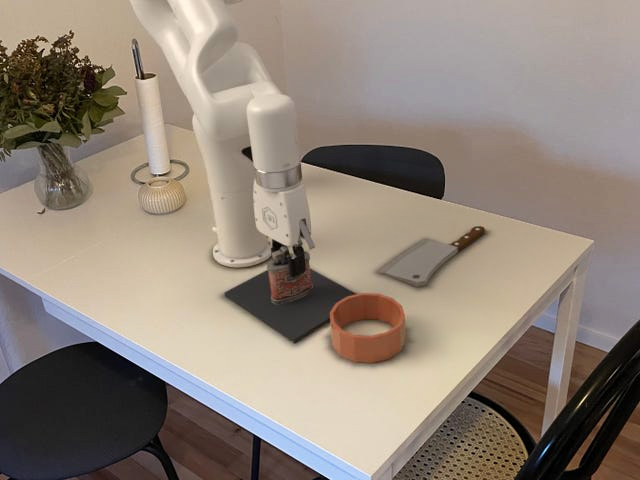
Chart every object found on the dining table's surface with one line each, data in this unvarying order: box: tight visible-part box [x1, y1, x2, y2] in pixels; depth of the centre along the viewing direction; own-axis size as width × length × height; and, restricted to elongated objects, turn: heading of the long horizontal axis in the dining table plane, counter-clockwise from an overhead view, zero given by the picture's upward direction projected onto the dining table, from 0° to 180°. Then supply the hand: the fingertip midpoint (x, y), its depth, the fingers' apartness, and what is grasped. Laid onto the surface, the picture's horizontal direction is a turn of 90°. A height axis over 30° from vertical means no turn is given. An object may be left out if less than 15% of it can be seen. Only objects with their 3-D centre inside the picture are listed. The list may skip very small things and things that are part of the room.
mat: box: [224, 268, 357, 344], centre depth 120 cm, size 20×16×1 cm
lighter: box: [266, 243, 313, 305], centre depth 117 cm, size 8×3×10 cm, turn 117°
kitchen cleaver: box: [379, 225, 486, 288], centre depth 129 cm, size 24×1×10 cm
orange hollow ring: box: [329, 292, 406, 364], centre depth 108 cm, size 12×12×5 cm
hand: (289, 268), depth 117 cm, fingers closed on lighter, 3 cm apart
